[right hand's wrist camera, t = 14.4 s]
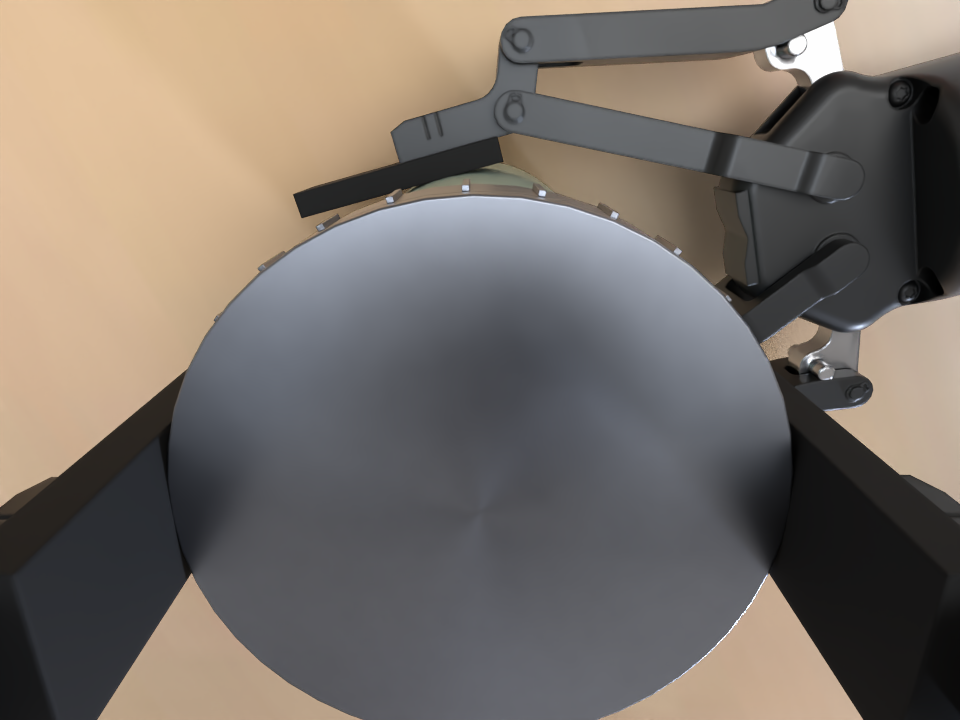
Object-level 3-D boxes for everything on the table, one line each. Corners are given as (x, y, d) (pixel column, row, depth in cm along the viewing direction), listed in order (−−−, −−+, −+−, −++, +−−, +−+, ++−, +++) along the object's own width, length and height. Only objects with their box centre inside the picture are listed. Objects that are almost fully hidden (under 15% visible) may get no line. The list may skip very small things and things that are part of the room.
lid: (757, 644, 13) (794, 711, 12) (282, 699, 14) (258, 770, 12) (756, 132, 10) (807, 133, 8) (124, 231, 10) (63, 249, 9)
